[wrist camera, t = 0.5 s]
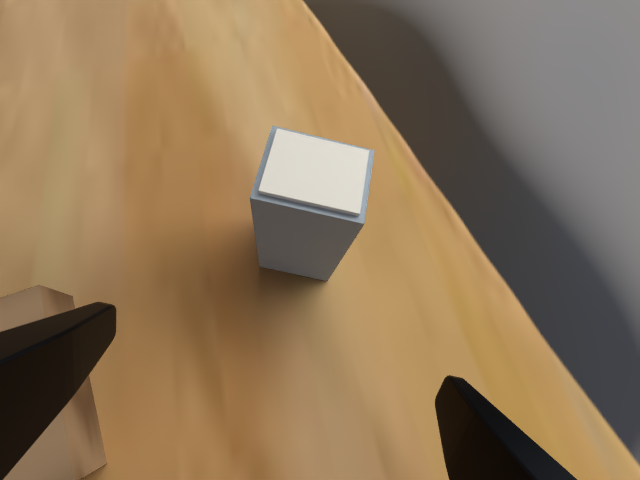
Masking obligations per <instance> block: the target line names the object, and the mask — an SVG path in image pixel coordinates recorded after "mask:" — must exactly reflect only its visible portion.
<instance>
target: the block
mask: <svg viewBox="0 0 640 480" xmlns="http://www.w3.org/2000/svg"><path fill="white" fill-rule="evenodd" d="M73 309H75V306H74V301H73V296H70V295H67V294H64V293H61V292H59V291H56V290H53V289H50V288H47V287H44V286H41V285H37V286H34V287H31V288H28V289H25V290H22V291H19V292H16V293H13V294H10V295H7V296H4V297H1V298H0V332H1V331H4V330H8V329H11V328H14V327H17V326H21V325H24V324H27V323H30V322H34V321H37V320H40V319H43V318H47V317H50V316H53V315H56V314H60V313H63V312H66V311H69V310H73ZM105 464H107V460H106V455H105V450H104V445H103V441H102V436H101V431H100V426H99V421H98V416H97V412H96V407H95V402H94V397H93V392H92V388H91V383H90V378H89V375H88V377H87V378H86V380H85V381H84V383H83V384H82V385H81V387H80V388H79V389H78V391H77V392H76V394H75V395H74V396H73V397H72V399H71V400H70V401H69V402H68V404H67V405H66V406H65V407H64V408H63V409H62V411H61V412H60V413H59V414H58V415H57V417H56V418H55V419H54V420H53V421H52V422H51V424H50V425H49V426H48V427H47V428H46V430H45V431H44V432H43V433H42V434H41V436H40V437H39V438H38V439H37V440H36V441H35V443H34V444H33V445H32V446H31V447H30V449H29V450H28V451H27V452H26V453H25V454H24V456H23V457H22V458H21V459H20V460H19V462H18V463H17V464H16V465H15V466H14V468H13V469H12V470H11V471H10V472H9V473H8V475H7V476H6V477H5V478H4V479H3V480H80V479H81V478H83V477H85V476H86V475H88V474H90V473H91V472H93V471H95V470H97V469H98V468H100V467H102V466H103V465H105Z"/></svg>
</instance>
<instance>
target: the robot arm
mask: <svg viewBox="0 0 640 480" xmlns="http://www.w3.org/2000/svg"><path fill="white" fill-rule="evenodd" d="M115 333H116V307H115V306H114V305H112V304H107V303H102V302H95V303H92V304H89V305H86V306H82V307H79V308H76V309H73V310H69V311H66V312H63V313H60V314H56V315H53V316H50V317H47V318H43V319H40V320H37V321H34V322H30V323H27V324H24V325H21V326H17V327H14V328H11V329H8V330H4V331H1V332H0V480H3V479H4V478H5V477H6V476H7V475H8V473H9V472H10V471H11V470H12V469H13V468H14V466H15V465H16V464H17V463H18V462H19V460H20V459H21V458H22V457H23V456H24V454H25V453H26V452H27V451H28V450H29V449H30V447H31V446H32V445H33V444H34V443H35V441H36V440H37V439H38V438H39V437H40V436H41V434H42V433H43V432H44V431H45V430H46V428H47V427H48V426H49V425H50V424H51V422H52V421H53V420H54V419H55V418H56V417H57V415H58V414H59V413H60V412H61V411H62V409H63V408H64V407H65V406H66V405H67V404H68V402H69V401H70V400H71V399H72V397H73V396H74V395H75V394H76V392H77V391H78V389H79V388H80V387H81V385H82V384H83V383H84V381H85V380H86V378H87V377H88V375H89V374H90V372H91V371H92V370H93V368H94V367H95V365H96V364H97V362H98V361H99V359H100V358H101V357H102V355H103V354H104V352H105V351H106V349H107V348H108V346H109V345H110V344H111V342H112V341H113V339H114V337H115ZM435 408H436V414H437V420H438V426H439V431H440V437H441V443H442V448H443V454H444V459H445V464H446V468H447V472H448V476H449V480H577V479H576V478H575V477H574V476H573V475H571V474H570V473H569V472H568V471H567V470H566V469H565V468H564V467H562V466H561V465H560V464H559V463H558V462H557V461H556V460H554V459H553V458H552V457H551V456H550V455H549V454H548V453H547V452H545V451H544V450H543V449H542V448H541V447H540V446H539V445H538V444H536V443H535V442H534V441H533V440H532V439H531V438H530V437H529V436H527V435H526V434H525V433H524V432H523V431H522V430H521V429H520V428H518V427H517V426H516V425H515V424H514V423H513V422H512V421H511V420H509V419H508V418H507V417H506V416H505V415H504V414H503V413H502V412H500V411H499V410H498V409H497V408H496V407H495V406H494V405H492V404H491V403H490V402H489V401H488V400H487V399H486V398H485V397H483V396H482V395H481V394H480V393H479V392H478V391H477V390H476V389H474V388H473V387H472V386H471V385H470V384H469V383H468V382H467V381H465V380H464V379H463V378H460V377H455V376H451V375H449V376H447V377H445V379H444V381H443V383H442V385H441V387H440V389H439V392H438V394H437V396H436V399H435Z"/></svg>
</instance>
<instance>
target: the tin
mask: <svg viewBox="0 0 640 480" xmlns="http://www.w3.org/2000/svg"><path fill="white" fill-rule="evenodd" d="M374 151H375V150H371V149H367V148H363V147H359V146H354V145H350V144H346V143H342V142H338V141H334V140H330V139H326V138H321V137H317V136H313V135H309V134H305V133H301V132H297V131H293V130H288V129H284V128H280V127H276V126H272V128H271V131H270V135H269V138H268V141H267V144H266V148H265V151H264V154H263V157H262V160H261V164H260V167H259V170H258V173H257V177H256V180H255V183H254V186H253V190H252V193H251V196H250V202H251V209H252V217H253V224H254V231H255V238H256V246H257V253H258V260H259V267H264V268H268V269H273V270H278V271H282V272H287V273H292V274H296V275H301V276H306V277H310V278H315V279H320V280H324V281H328V279H329V278H330V276H331V275H332V273H333V272H334V270H335V269H336V267H337V266H338V264H339V262H340V261H341V259H342V258H343V256H344V255H345V253H346V252H347V250H348V248H349V247H350V245H351V244H352V242H353V241H354V239H355V238H356V236H357V235H358V233H359V231H360V230H361V228H362V227H363V225H364V223H365V216H366V208H367V201H368V194H369V187H370V179H371V172H372V165H373V158H374Z"/></svg>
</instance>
